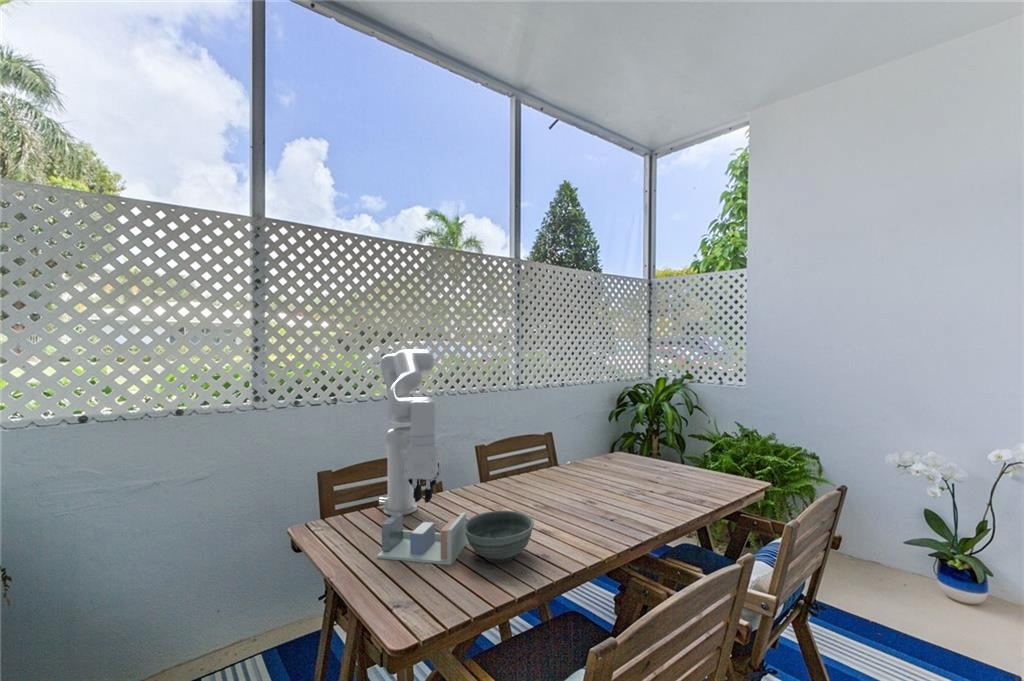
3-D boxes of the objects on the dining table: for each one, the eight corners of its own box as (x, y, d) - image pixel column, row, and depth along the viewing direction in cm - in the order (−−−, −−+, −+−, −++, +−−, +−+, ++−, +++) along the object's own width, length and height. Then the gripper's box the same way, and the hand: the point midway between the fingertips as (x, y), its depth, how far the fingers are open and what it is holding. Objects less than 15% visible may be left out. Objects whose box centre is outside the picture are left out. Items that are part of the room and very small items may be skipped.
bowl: (544, 567, 123) (544, 531, 124) (471, 578, 117) (470, 540, 118) (521, 537, 143) (521, 506, 144) (458, 546, 137) (457, 513, 138)
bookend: (381, 550, 132) (381, 523, 132) (395, 538, 141) (395, 512, 141) (389, 551, 132) (389, 524, 132) (402, 538, 140) (402, 513, 141)
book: (410, 553, 130) (410, 533, 131) (422, 541, 139) (422, 521, 139) (422, 555, 130) (422, 534, 130) (434, 542, 138) (434, 522, 138)
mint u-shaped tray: (376, 558, 130) (376, 524, 130) (398, 538, 143) (398, 507, 144) (451, 565, 125) (451, 530, 125) (466, 544, 139) (466, 512, 139)
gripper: (392, 441, 133) (392, 503, 133) (443, 443, 130) (443, 506, 129) (403, 437, 140) (403, 495, 140) (452, 438, 137) (452, 498, 137)
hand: (423, 500), depth 135 cm, fingers open, 2 cm apart
